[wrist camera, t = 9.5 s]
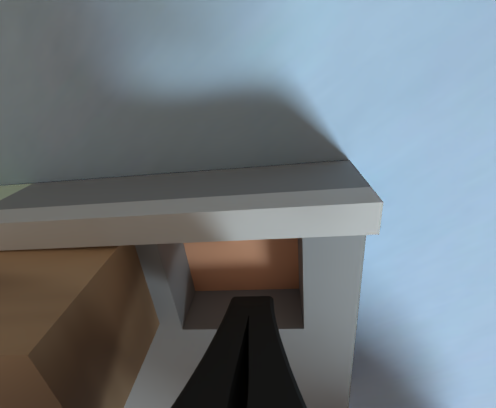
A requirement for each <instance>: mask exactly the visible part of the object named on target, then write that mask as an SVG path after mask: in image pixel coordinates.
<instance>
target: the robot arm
mask: <svg viewBox="0 0 496 408" xmlns="http://www.w3.org/2000/svg"><path fill="white" fill-rule="evenodd" d="M171 408H307V406H306V404H305V402H304V399H303V397H302V395H301V392H300V390H299V387H298V385H297V382H296V380H295V377H294V375H293V372H292V369H291V367H290V364H289V361H288V358H287V355H286V352H285V349H284V346H283V343H282V340H281V337H280V333H279V330H278V326H277V322H276V317H275V312H274V300H273V298H272V297H271V296H237V297H233V298H232V299H231V301H230V304H229V306H228V308H227V311H226V313H225V315H224V317H223V319H222V322H221V324H220V326H219V328H218V330H217V332H216V334H215V335H214V337H213V339H212V341H211V343H210V345H209V346H208V348H207V350H206V352H205V354H204V356H203V357H202V359H201V361H200V362H199V364H198V366H197V367H196V369H195V371H194V372H193V374H192V376H191V377H190V379H189V380H188V382H187V384H186V385H185V387H184V388H183V390H182V391H181V393H180V394H179V396H178V398H177V399H176V401H175V402H174V403H173V405H172V406H171Z"/></svg>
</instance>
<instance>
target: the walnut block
mask: <svg viewBox="0 0 496 408" xmlns="http://www.w3.org/2000/svg"><path fill="white" fill-rule="evenodd" d="M159 324H160V323H159V320H158V317H157V314H156V310H155V307H154V304H153V301H152V298H151V295H150V292H149V289H148V285H147V282H146V279H145V276H144V273H143V270H142V267H141V264H140V260H139V257H138V254H137V251H136V248H135V245H122V246H99V247H76V248H52V249H29V250H6V251H0V408H124V406H125V404H126V401H127V399H128V397H129V394H130V392H131V390H132V387H133V385H134V383H135V380H136V378H137V376H138V373H139V371H140V369H141V366H142V364H143V362H144V359H145V357H146V355H147V352H148V350H149V348H150V345H151V343H152V341H153V338H154V336H155V334H156V331H157V329H158V327H159Z"/></svg>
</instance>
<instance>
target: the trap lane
mask: <svg viewBox="0 0 496 408" xmlns="http://www.w3.org/2000/svg"><path fill="white" fill-rule="evenodd" d="M382 208H383V201H382V200H381V199H380V197H379V196H378V195H377V194H376V192H375V191H374V190H373V189H372V187H371V186H370V185H369V184H368V182H367V181H366V180H365V179H364V177H363V176H362V175H361V174H360V173H359V171H358V170H357V169H356V168H355V166H354V165H353V164H352V163H351V161H350V160H345V161H331V162H318V163H304V164H290V165H277V166H263V167H249V168H235V169H222V170H208V171H194V172H181V173H167V174H153V175H139V176H126V177H112V178H98V179H85V180H71V181H57V182H43V183H30V184H16V185H2V186H0V251H6V250H29V249H52V248H76V247H99V246H122V245H135V248H136V251H137V254H138V257H139V260H140V264H141V267H142V270H143V273H144V276H145V279H146V282H147V285H148V289H149V292H150V295H151V298H152V301H153V304H154V307H155V310H156V314H157V317H158V320H159V323H160V324H159V327H158V329H157V331H156V334H155V336H154V338H153V341H152V343H151V345H150V348H149V350H148V352H147V355H146V357H145V359H144V362H143V364H142V366H141V369H140V371H139V373H138V376H137V378H136V380H135V383H134V385H133V387H132V390H131V392H130V394H129V397H128V399H127V401H126V404H125V406H124V408H171V406H172V405H173V403H174V402H175V401H176V399H177V398H178V396H179V394H180V393H181V391H182V390H183V388H184V387H185V385H186V384H187V382H188V380H189V379H190V377H191V376H192V374H193V372H194V371H195V369H196V367H197V366H198V364H199V362H200V361H201V359H202V357H203V356H204V354H205V352H206V350H207V348H208V346H209V345H210V343H211V341H212V339H213V337H214V335H215V334H216V332H217V330H218V328H219V326H220V324H221V322H222V319H223V317H224V315H225V313H226V311H227V308H228V306H229V304H230V301H231V299H232V298H233V297H237V296H271V297H272V298H273V300H274V312H275V317H276V322H277V326H278V330H279V333H280V337H281V340H282V343H283V346H284V349H285V352H286V355H287V358H288V361H289V364H290V367H291V369H292V372H293V375H294V377H295V380H296V382H297V385H298V387H299V390H300V392H301V395H302V397H303V399H304V402H305V404H306V406H307V408H348V404H349V395H350V385H351V375H352V366H353V356H354V346H355V337H356V327H357V317H358V308H359V298H360V288H361V279H362V269H363V259H364V250H365V240H366V235H379V232H380V224H381V216H382Z"/></svg>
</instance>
